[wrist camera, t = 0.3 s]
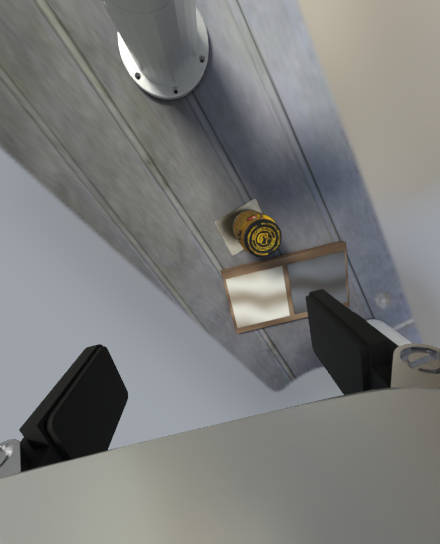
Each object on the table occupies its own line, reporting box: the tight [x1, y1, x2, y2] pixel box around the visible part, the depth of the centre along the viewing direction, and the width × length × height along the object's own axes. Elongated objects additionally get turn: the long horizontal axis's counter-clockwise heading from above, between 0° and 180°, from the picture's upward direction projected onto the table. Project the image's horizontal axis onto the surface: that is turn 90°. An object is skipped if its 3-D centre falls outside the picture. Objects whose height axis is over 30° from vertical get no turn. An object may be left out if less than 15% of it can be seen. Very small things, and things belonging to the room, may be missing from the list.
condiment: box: [214, 198, 281, 257], centre depth 37 cm, size 7×8×12 cm
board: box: [221, 241, 349, 334], centre depth 46 cm, size 14×24×2 cm, turn 103°
